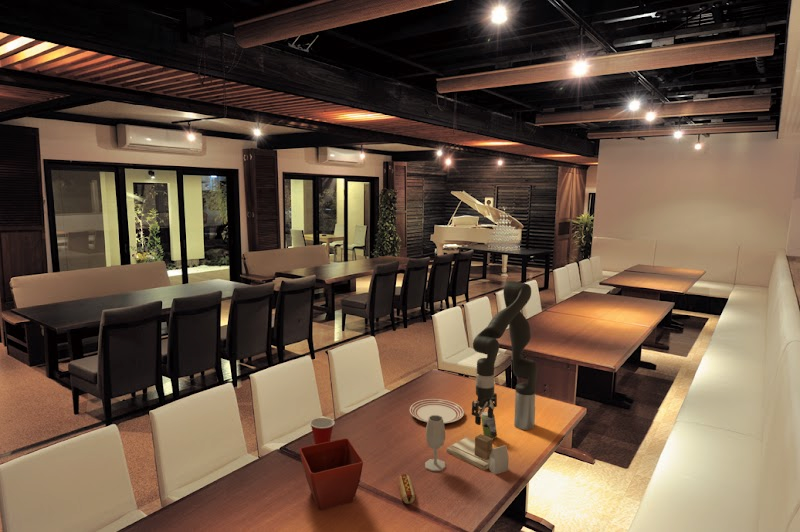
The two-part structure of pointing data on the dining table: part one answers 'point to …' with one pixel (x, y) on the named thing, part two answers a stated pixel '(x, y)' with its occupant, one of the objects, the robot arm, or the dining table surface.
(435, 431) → the wineglass
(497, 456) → the tea bag
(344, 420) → the dining table surface
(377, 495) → the dining table surface
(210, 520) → the dining table surface
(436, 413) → the dinner plate
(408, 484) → the food
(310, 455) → the plant pot
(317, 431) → the plastic cup
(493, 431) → the beverage can
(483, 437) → the block
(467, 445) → the board
